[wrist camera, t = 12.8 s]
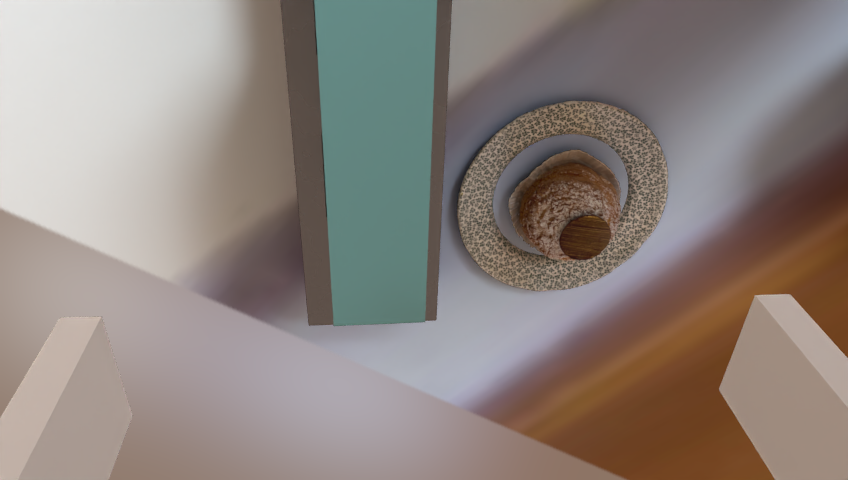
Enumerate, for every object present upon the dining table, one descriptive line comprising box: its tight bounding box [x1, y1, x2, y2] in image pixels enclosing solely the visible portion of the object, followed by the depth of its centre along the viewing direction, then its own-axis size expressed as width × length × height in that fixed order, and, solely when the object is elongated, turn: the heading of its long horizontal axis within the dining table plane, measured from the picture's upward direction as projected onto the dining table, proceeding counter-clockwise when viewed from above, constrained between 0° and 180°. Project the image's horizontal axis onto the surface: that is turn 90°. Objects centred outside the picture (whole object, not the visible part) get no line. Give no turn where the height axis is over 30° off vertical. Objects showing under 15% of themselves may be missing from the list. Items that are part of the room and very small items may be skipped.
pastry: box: [457, 101, 668, 291], centre depth 35 cm, size 12×12×5 cm
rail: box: [281, 0, 452, 326], centre depth 30 cm, size 26×7×4 cm, turn 178°
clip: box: [314, 0, 437, 326], centre depth 27 cm, size 12×4×12 cm, turn 178°
